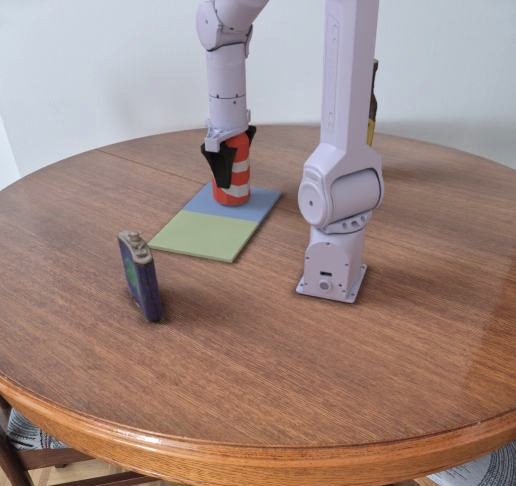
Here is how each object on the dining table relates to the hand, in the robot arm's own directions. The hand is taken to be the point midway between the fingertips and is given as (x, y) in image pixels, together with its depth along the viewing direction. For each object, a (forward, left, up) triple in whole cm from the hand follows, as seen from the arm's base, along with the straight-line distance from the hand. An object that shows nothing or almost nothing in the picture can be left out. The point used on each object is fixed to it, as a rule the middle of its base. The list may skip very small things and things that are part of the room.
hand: (231, 178), depth 91 cm
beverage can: (0, 0, -4) cm, 4 cm away
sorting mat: (-6, 0, -4) cm, 8 cm away
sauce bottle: (+18, -17, -5) cm, 25 cm away
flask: (-31, 0, -5) cm, 31 cm away
